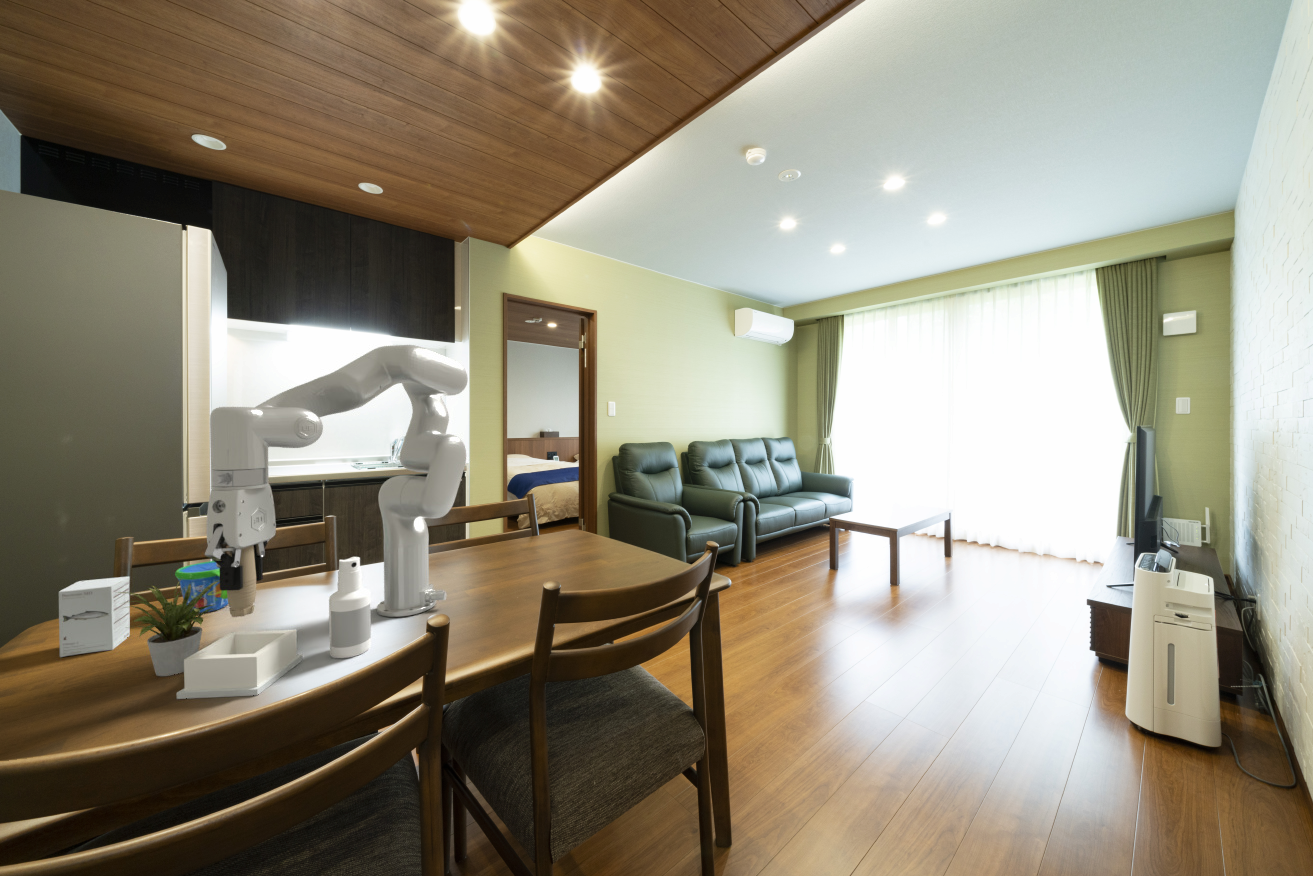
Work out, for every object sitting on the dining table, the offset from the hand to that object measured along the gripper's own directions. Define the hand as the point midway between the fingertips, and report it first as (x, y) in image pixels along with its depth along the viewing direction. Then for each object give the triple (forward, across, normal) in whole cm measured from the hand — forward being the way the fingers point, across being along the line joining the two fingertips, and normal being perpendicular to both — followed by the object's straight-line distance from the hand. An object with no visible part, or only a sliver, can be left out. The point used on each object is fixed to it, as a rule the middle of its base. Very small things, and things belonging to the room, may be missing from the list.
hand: (242, 583), depth 84 cm
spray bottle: (+17, +9, -13) cm, 23 cm away
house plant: (+17, +4, +15) cm, 23 cm away
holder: (+16, 0, 0) cm, 16 cm away
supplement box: (+17, +15, +37) cm, 43 cm away
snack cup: (+17, +34, +31) cm, 49 cm away
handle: (+5, 0, 0) cm, 5 cm away
